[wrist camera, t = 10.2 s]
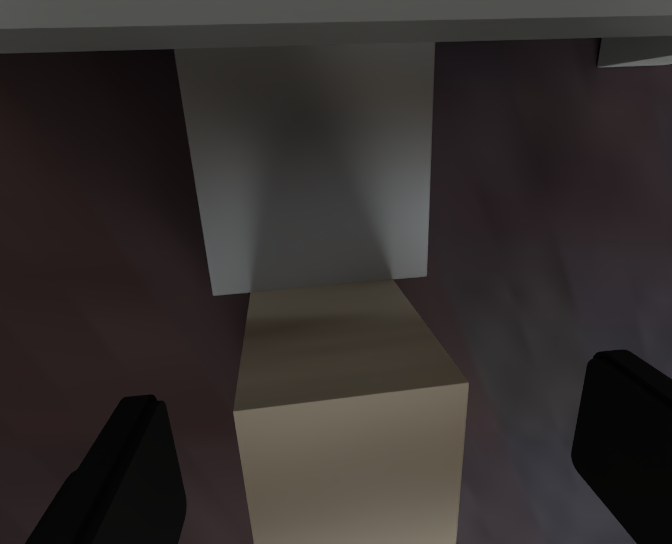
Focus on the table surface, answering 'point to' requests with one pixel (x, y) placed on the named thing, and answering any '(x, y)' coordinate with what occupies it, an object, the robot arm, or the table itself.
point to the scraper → (328, 286)
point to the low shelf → (335, 24)
